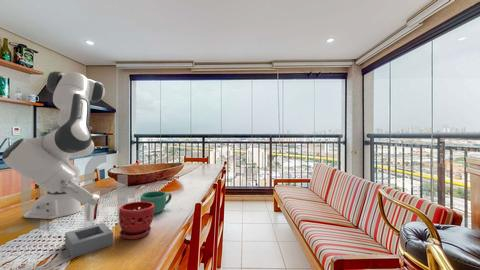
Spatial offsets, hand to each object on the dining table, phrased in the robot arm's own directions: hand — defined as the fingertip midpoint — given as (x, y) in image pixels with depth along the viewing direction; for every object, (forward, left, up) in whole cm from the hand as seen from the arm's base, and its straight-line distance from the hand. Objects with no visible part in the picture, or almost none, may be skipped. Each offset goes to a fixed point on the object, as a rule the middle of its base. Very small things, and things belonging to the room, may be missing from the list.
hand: (93, 201), depth 76 cm
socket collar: (-1, 0, -16) cm, 16 cm away
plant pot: (+13, +7, -16) cm, 22 cm away
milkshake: (-1, 0, -7) cm, 7 cm away
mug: (+14, +34, -16) cm, 40 cm away
